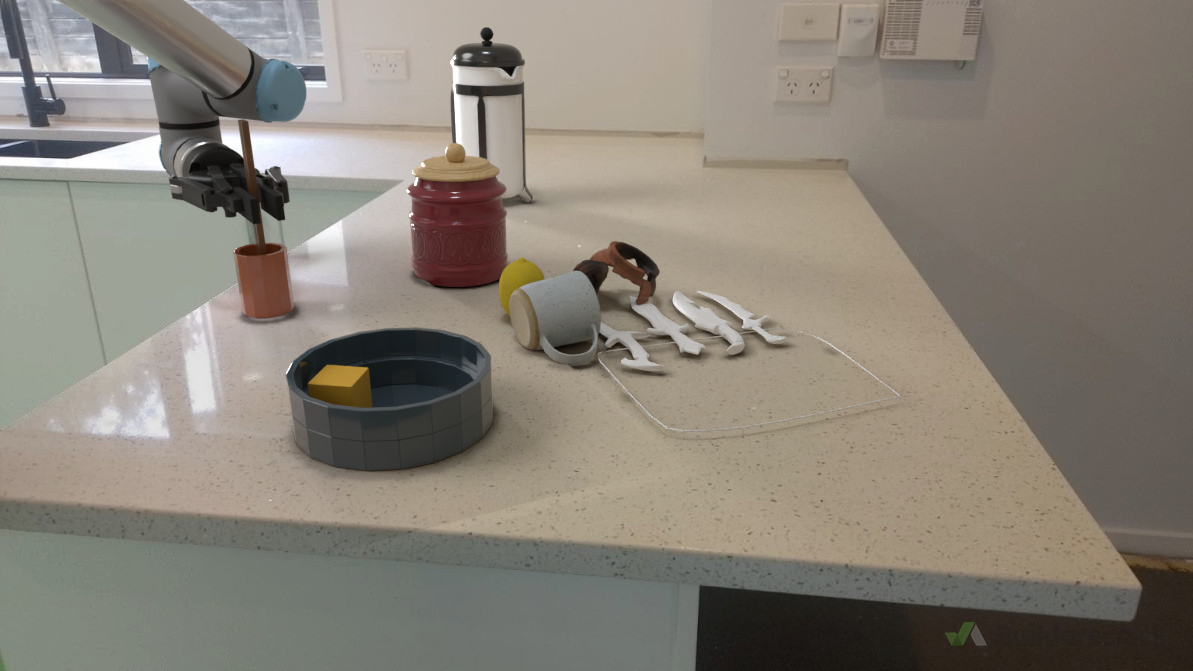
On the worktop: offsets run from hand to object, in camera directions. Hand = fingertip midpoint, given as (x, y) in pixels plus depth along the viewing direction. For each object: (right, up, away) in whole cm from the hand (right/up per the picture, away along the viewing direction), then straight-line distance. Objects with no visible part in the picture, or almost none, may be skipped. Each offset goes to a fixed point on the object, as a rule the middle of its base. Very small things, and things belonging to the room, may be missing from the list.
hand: (267, 209), depth 90 cm
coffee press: (+15, +11, +64) cm, 67 cm away
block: (+13, -21, -15) cm, 29 cm away
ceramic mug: (+32, -15, +1) cm, 35 cm away
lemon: (+27, -12, +8) cm, 31 cm away
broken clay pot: (+37, -9, +15) cm, 41 cm away
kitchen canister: (+17, -5, +25) cm, 30 cm away
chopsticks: (-3, -11, +9) cm, 14 cm away
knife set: (+48, -15, +1) cm, 50 cm away
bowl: (+18, -22, -15) cm, 32 cm away
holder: (-3, -11, +9) cm, 15 cm away
